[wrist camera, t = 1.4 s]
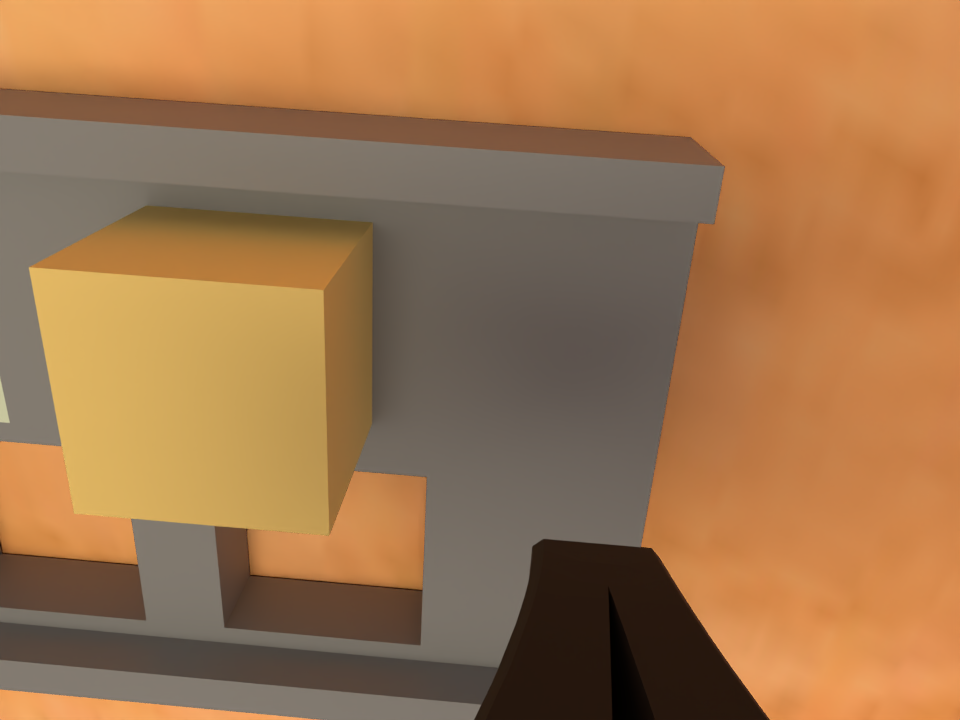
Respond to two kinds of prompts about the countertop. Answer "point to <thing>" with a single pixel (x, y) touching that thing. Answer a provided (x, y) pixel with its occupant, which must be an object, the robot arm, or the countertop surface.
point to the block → (211, 366)
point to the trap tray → (395, 388)
